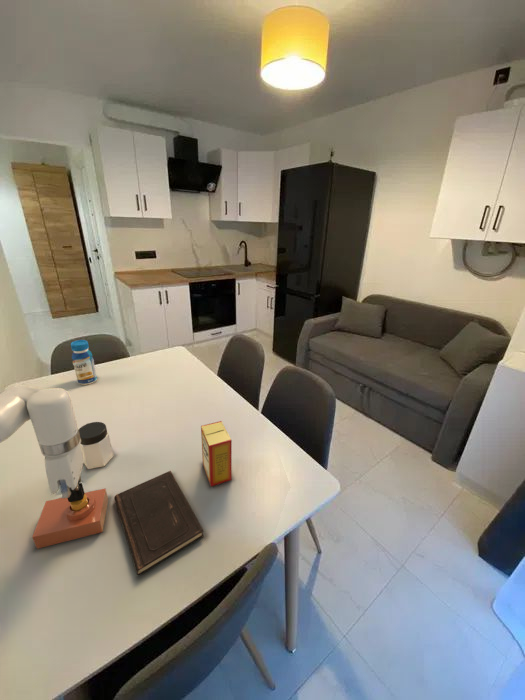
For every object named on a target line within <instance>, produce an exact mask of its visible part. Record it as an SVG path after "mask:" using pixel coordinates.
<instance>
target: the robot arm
mask: <svg viewBox="0 0 525 700" xmlns="http://www.w3.org/2000/svg"><path fill="white" fill-rule="evenodd" d="M29 421H30V422H31V425H32V428H33V430H34V433H35V437H36V440H37V444H38V446H39V449H40V452H41V455H42V456H43V457H44V468H45V474H46V478H47V482H48V483H47V484H48V486H49V490H50V492H51V495H56V494H58V491H59V489H60V491H61V492H60V493H61V498H63V499H65V498H68V501H69V502H74V501H78V500H82V499H83V498H84V494H85V493H86V492H85V490H84V486H83V482H82V475H81V474H82V470H83V466H84V463H83V461H84V459H83V453H82V450H81V446H80V443H81V438H80V434H79V426H78V422H77V419H76V414H75V410H74V406H73V403H72V398H71V395H70V393H69V392H68V391H67V390H66V389H64V388H61V387H49V388H43V387H38V386H34V385H29V384H21V383H20V384H14V385H11V386H9V387H8V388H6V389H5V390H3V391H2V392H0V444H1V443H3V442H5V441H7V440H8V439H9V438H10V437H12V436H13V435H14V434H15V433H16V432H17V431H18V430H19V429H20V428H21V427H22V426H23V425H25V423H26V422H29Z"/></svg>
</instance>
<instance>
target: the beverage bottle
mask: <svg viewBox="0 0 525 700" xmlns="http://www.w3.org/2000/svg"><path fill="white" fill-rule="evenodd" d="M70 348H71V351H72V354H71V359H72V365H73V368H74V372H75V375H76V376H75V377H76V381H77V384H79V385H82V386H83V385H85V386H87V385H91V384H93V383H95V382H96V381H97V380H98V376H97V371H96V365H95V360H94V357H93V353H92V351H91V350H90V349H89V348H90V346H89V342H88V340H86V339H77V340H74V341H72V342H71V343H70Z"/></svg>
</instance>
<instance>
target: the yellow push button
mask: <svg viewBox="0 0 525 700" xmlns="http://www.w3.org/2000/svg"><path fill="white" fill-rule="evenodd" d="M87 504H88V500H87V496H86V494H84V498H83V499H82V500H78V501H74V502H70V505H71V508H72V510H73V511H79V510H81V509H83V508H85V507H86V506H87Z"/></svg>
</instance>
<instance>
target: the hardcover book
mask: <svg viewBox="0 0 525 700" xmlns="http://www.w3.org/2000/svg"><path fill="white" fill-rule="evenodd" d="M114 502H115V504H116V509H117V512H118V516H119V519H120V522H121V525H122V528H123V529H122V530H123V532H124V535H125V539H126V543H127V545H128V548H129V552H130V555H131V558H132V559H131V560H132V562H133V565H134V569H135V572H136V575H137V576H141V575H144V574H146V572H148V571H150V570H151V569H153V568H155V567H156V566H157V565H160V564H161V563H163V562H164V561H166V560H168V559H169V558H171V557H173V556H174V555H176V554H177V553H179V552H181V551H183V550H184V549H186V548H187V547H189V546H191V545H192V544H194V543H195V542H197V541H199V540H200V539H202V538H204V537H205V536H204V533H203V532H204V529H203V527H202V525H201V523H200V522H199V519H198V517H197V516H196V514H195V513H194V511H193V509H192V507H191V505H190V503H189V502H188V500H187V498H186V496H185V494H184V492H183V491H182V489H181V487H180V485H179V483H178V481H177V480H176V478H175V476H174V474H173V472H172V471H171V470H169V471H166V472H164V473H162V474H160V475H157V476H155V477H153V478H151V479H148V480H146V481H144V482H142V483H139V484H136V485H135V486H133V487H130V488H128V489H126V490H124V491H122V492H119V493H117V494H115V496H114Z"/></svg>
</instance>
